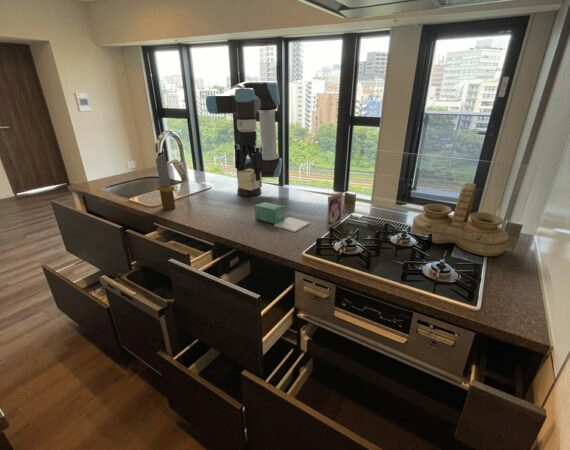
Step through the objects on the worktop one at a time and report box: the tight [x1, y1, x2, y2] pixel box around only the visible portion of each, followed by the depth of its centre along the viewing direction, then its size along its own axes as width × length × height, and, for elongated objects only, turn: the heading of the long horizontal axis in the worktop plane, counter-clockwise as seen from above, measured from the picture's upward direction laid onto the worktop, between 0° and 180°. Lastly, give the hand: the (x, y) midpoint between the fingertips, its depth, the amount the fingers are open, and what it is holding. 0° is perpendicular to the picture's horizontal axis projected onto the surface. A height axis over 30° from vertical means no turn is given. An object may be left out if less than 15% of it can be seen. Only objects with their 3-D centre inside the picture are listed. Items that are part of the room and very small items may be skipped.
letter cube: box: [237, 169, 263, 191], centre depth 126 cm, size 7×7×7 cm
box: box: [254, 201, 286, 225], centre depth 144 cm, size 7×14×8 cm, turn 50°
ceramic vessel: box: [411, 181, 509, 257], centre depth 117 cm, size 34×18×25 cm, turn 51°
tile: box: [273, 217, 311, 233], centre depth 140 cm, size 12×12×1 cm
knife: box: [155, 153, 176, 211], centre depth 158 cm, size 8×4×30 cm, turn 62°
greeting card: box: [326, 190, 344, 229], centre depth 139 cm, size 11×7×15 cm, turn 137°
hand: (250, 186), depth 127 cm, fingers closed on letter cube, 7 cm apart
